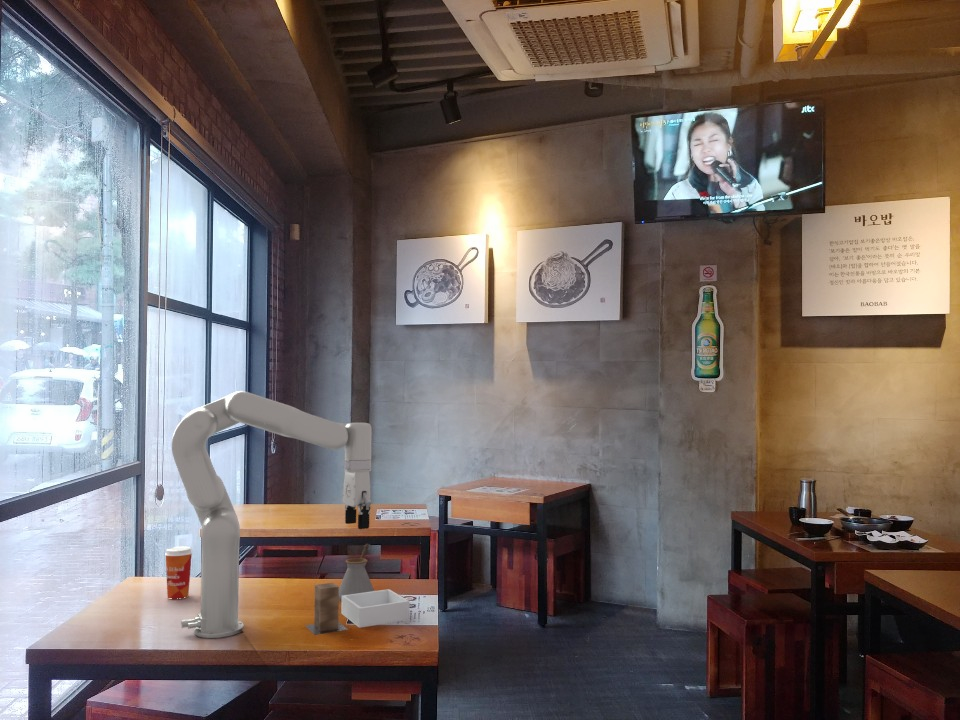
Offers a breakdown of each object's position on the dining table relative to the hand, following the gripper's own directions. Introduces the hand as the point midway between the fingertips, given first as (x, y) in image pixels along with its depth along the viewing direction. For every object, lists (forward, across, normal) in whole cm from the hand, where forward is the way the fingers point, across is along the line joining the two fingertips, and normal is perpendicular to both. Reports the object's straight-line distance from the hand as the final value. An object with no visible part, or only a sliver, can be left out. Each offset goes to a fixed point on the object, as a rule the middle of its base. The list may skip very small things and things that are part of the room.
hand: (356, 525), depth 212 cm
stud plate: (+26, +8, -11) cm, 29 cm away
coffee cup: (+26, -48, -40) cm, 68 cm away
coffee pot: (+26, -18, +8) cm, 33 cm away
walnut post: (+25, +8, -11) cm, 28 cm away
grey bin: (+26, +5, +4) cm, 27 cm away
